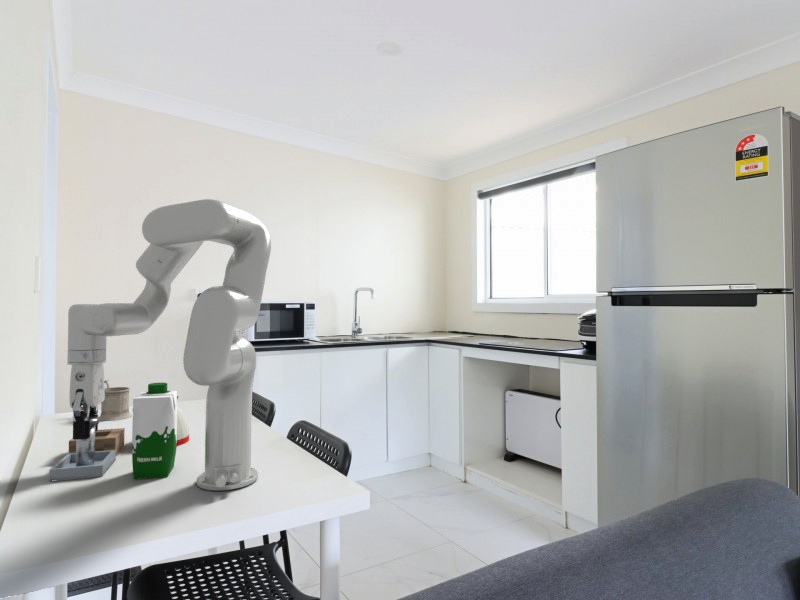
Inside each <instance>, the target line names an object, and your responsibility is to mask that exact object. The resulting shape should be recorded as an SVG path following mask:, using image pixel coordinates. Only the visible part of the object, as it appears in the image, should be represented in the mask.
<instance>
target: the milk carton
mask: <svg viewBox="0 0 800 600" xmlns="http://www.w3.org/2000/svg"><path fill="white" fill-rule="evenodd" d="M177 396H178V391H177V390H168V382H151V383H148V386H147V391H141V392H140V393H138V394H136V395H135V397H133V398H132V426H131V428H132V431H131V434H132V435H131V437H132V438H131V440H132V441H131V461H132V479H133V481H134V480H144V479H145V480H146V479H157V478H168V477H169V476H170V474H171V472H172V470H173V469H174V467H175V461H176V453H177V448H178V446H177V406H178V399H177Z"/></svg>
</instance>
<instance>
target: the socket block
mask: <svg viewBox="0 0 800 600" xmlns="http://www.w3.org/2000/svg"><path fill="white" fill-rule="evenodd" d="M125 430H126V429H125V428H124V427H122V428H121V427H120V428H108V429H107V428H104V429H98V430H97V431H96V432H95V451H108V450H116V457H118V455H119V454H120V453H121V451H122V450H123V449H124V447H125ZM70 453H76V440H74V439H73V437H72V438H71V439H70V440H68V454H70Z"/></svg>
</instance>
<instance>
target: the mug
mask: <svg viewBox="0 0 800 600" xmlns="http://www.w3.org/2000/svg"><path fill="white" fill-rule="evenodd" d="M109 381H110V380H108V379H106V380H105V379H104V384H105V385H106V388H105V399H104V401H103V402H101V403H100V405H101V409H100V416H98V417H99V421H102V422H115V421H120V420H121V421H122V420H126V419H129V418H132V417H133V414H131V413H130V390H131V387H127V386H117V387H110V384H109Z"/></svg>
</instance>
